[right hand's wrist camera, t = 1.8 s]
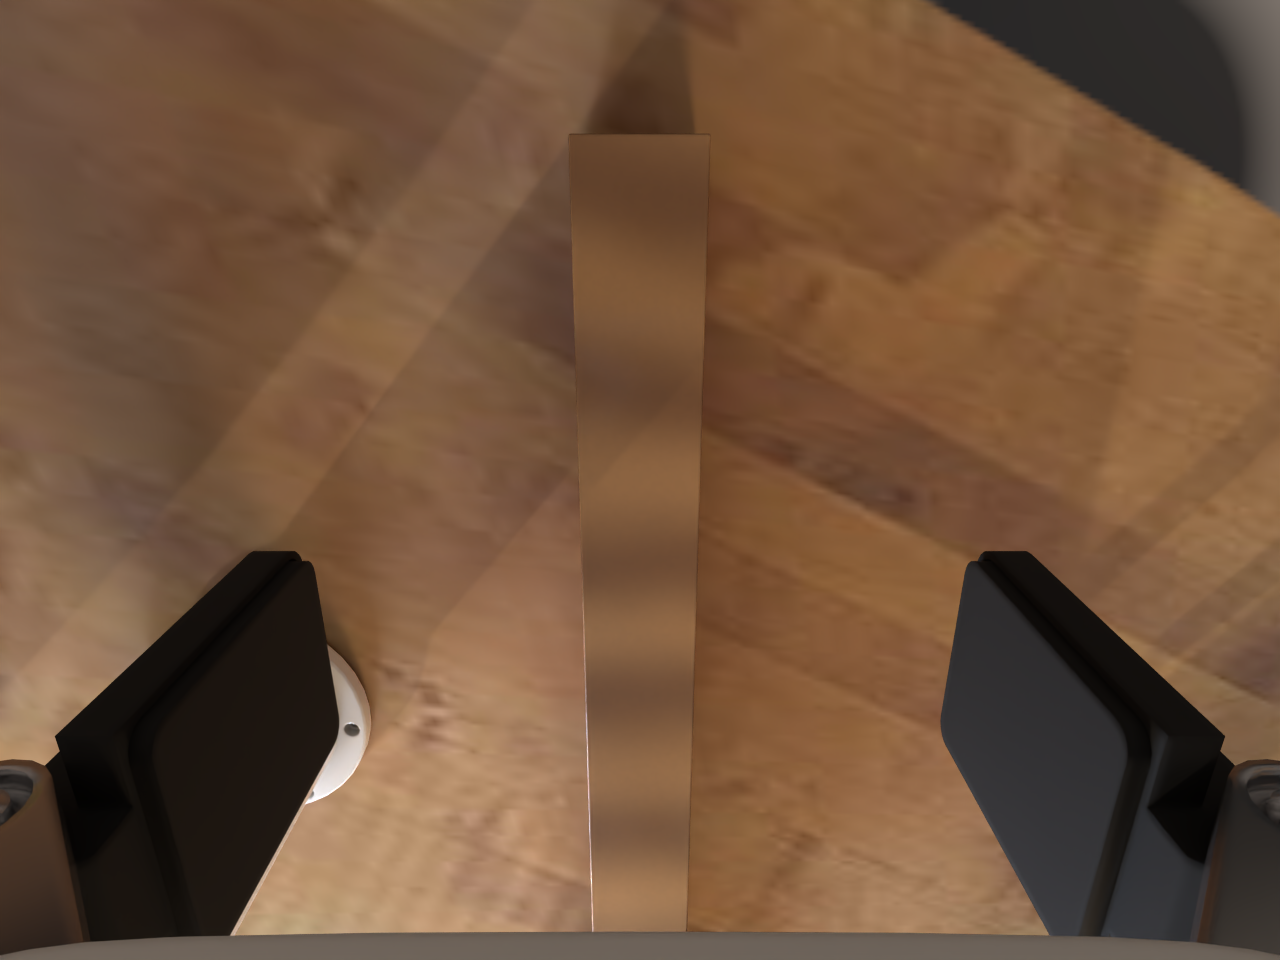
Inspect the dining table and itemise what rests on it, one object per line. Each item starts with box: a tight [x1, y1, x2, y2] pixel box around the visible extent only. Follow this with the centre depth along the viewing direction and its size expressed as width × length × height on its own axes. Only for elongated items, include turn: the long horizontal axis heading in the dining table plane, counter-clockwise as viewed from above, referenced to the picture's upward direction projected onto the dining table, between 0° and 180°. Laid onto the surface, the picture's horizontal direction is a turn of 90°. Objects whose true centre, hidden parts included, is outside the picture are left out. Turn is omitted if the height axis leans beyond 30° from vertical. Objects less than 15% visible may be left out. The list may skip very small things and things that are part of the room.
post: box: [569, 134, 710, 932], centre depth 42 cm, size 63×5×7 cm, turn 0°
